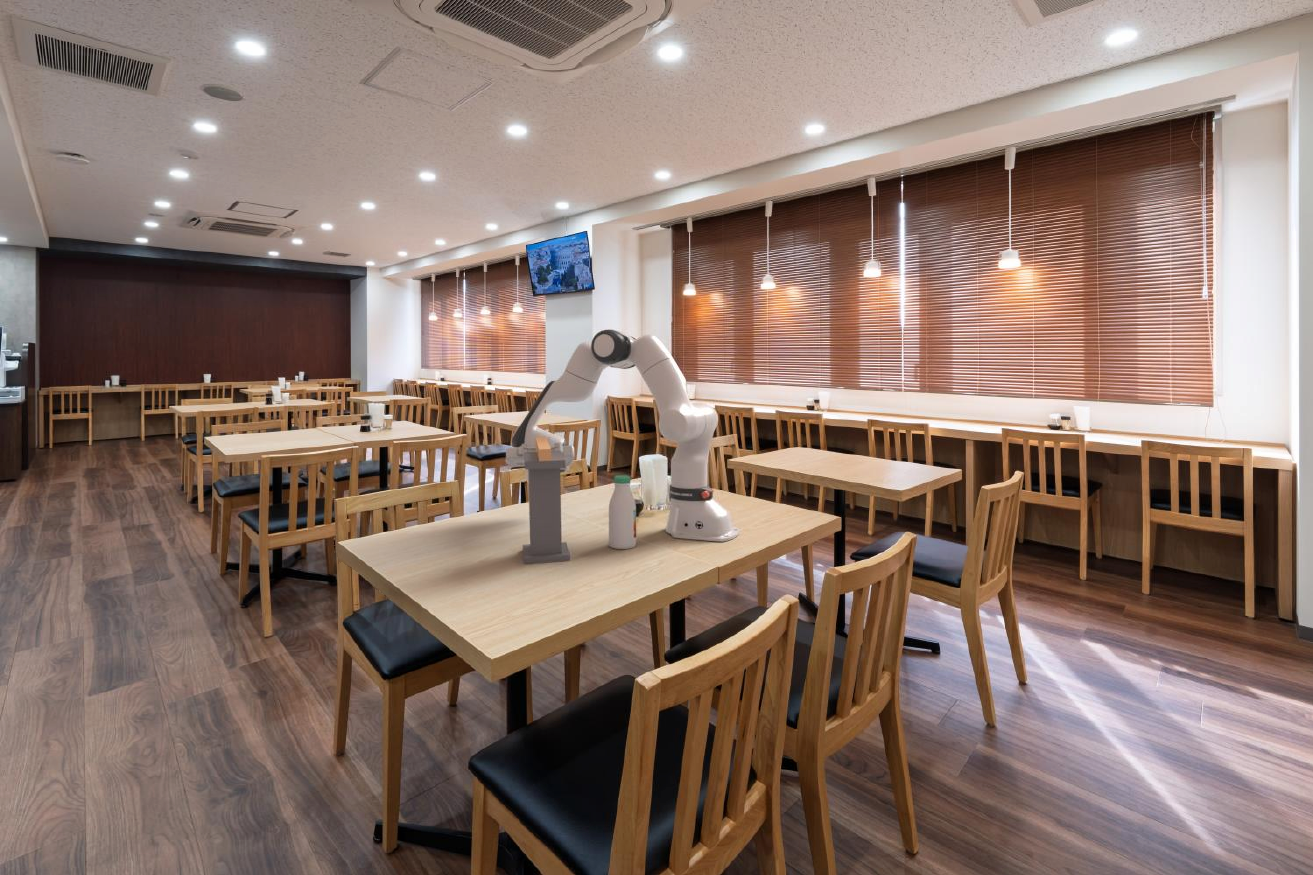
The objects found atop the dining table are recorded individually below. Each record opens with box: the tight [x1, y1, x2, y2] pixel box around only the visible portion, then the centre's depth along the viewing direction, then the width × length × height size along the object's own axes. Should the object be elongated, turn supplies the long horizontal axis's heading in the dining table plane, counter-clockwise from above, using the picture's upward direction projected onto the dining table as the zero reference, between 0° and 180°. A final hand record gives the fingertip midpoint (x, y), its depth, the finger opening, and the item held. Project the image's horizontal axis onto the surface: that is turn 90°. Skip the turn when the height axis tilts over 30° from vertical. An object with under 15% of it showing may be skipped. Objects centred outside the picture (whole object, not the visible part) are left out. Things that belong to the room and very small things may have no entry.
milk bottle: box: [608, 474, 637, 550], centre depth 179 cm, size 8×8×20 cm
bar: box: [535, 436, 551, 461], centre depth 173 cm, size 26×3×3 cm, turn 13°
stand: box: [522, 451, 571, 564], centre depth 170 cm, size 16×12×27 cm
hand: (541, 445), depth 185 cm, fingers open, 8 cm apart
